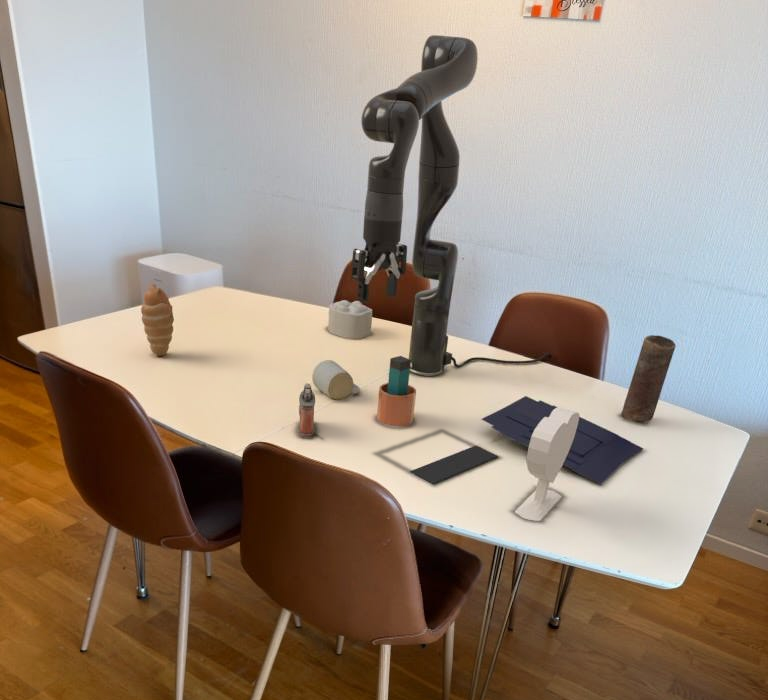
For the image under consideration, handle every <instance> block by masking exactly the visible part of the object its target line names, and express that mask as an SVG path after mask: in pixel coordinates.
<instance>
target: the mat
mask: <svg viewBox="0 0 768 700" xmlns="http://www.w3.org/2000/svg"><path fill="white" fill-rule="evenodd" d="M498 457H499V455H497V454H495V453H493V452H491V451H489V450H486V449H484V448H483V447H480V446H479V445H473V446H471V447H469V448H466V449H463V450H460V451H458V452H455V453H453V454H450V455H447V456H445V457H443V458H440V459H437V460H435V461H433V462H430V463H428V464H425V465H422V466H420V467H418V468H415V469H411V470H409V473H412V474H413V475H415V476H417V477H419V478H421V479H423V480H425V481H426V482H428V483H430V484H432V485H436V484H438V483H441V482H444V481H446V480H448V479H450V478H453V477H455V476H457V475H460V474H462V473H464V472H466V471H467V472H468V471H470V470H471V469H474V468H477V467H479V466H481V465H483V464H486V463H488V462H490V461H493V460H495V459H497V458H498Z"/></svg>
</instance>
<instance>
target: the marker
mask: <svg viewBox="0 0 768 700" xmlns="http://www.w3.org/2000/svg"><path fill="white" fill-rule="evenodd" d="M410 363H411V360H410V359H409V358H407V357H405V356H402V355H398V356H395V357H390V359H389V369H388V370H389V371H388V379H387V380H388V382H387V383H388V391H387V393H388V394H391V395H397V396H405V395H407V392H408V385H409V381H410V373H411V372H410Z"/></svg>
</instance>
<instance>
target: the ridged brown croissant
mask: <svg viewBox="0 0 768 700" xmlns="http://www.w3.org/2000/svg"><path fill="white" fill-rule="evenodd" d="M169 299H170V298H169V297H168V295H167V293H166V292H165V291H164V290H162V289H161V287H157V285H156V284H155V283H154V282H152V283H151V286H150V288H148V289H147V290H146V291H145V292H144V295H143V303H142V305H141V309H140V313H141V315H142V316H141V322H142V324H143V330H144V333H145V335H146V339H147V342H148V343H149V348H150V350H151V352H152V354H153V355H155V356H156V357H157V356H158V357H162V356H165V355H166V354H167V353H168V351H169V348H170V344H171V342H172V340H173V333H174V326H173V324H174V321H175V318H174V317H175V316H174V313H173V306H172V304H171V302H170V300H169Z"/></svg>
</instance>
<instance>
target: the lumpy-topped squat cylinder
mask: <svg viewBox="0 0 768 700" xmlns="http://www.w3.org/2000/svg"><path fill="white" fill-rule="evenodd" d="M372 322H373V309H372V308H371V307H368V306H366V305H364V304H363V302H361V301H359V300H354V301H352V302H349V300H346V299H343V300H340V301H336V302H333V303H330V304H329V306H328V322H327V323H328V324H327V325H328V327H327V330H328V332H330V333H331V334H332V335H335V336H337V337H342V338H345V339H349V340H360V339H363V338H364V337H365V338H366V337H368V336H371V334H372Z"/></svg>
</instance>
